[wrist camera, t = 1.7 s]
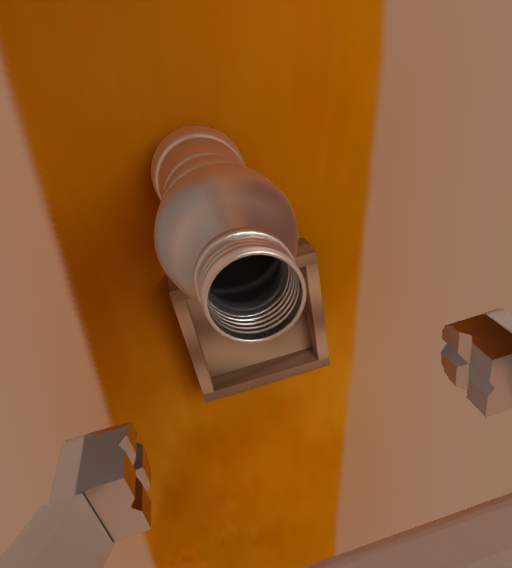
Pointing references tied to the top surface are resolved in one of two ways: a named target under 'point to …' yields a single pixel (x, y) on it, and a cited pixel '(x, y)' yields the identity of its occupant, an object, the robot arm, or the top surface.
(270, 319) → the silver metal bottle
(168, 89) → the top surface
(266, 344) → the walnut tray
